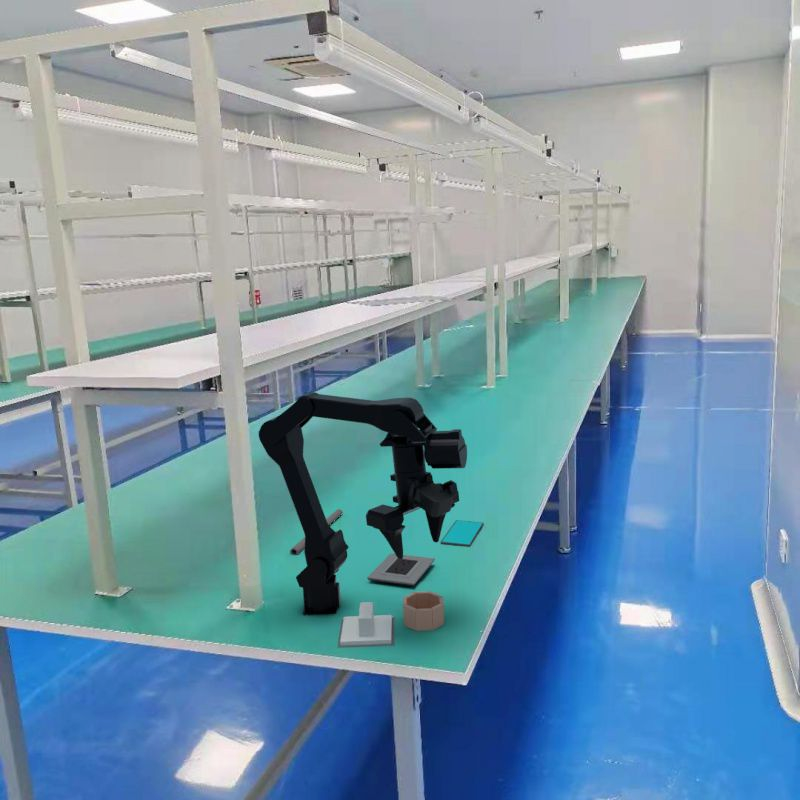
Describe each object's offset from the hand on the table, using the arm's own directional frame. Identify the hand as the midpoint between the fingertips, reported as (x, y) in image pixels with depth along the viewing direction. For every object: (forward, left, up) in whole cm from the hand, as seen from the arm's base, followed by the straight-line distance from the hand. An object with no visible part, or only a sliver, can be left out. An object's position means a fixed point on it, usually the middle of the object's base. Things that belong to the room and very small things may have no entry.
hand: (418, 549), depth 133 cm
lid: (-10, -4, -14) cm, 18 cm away
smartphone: (+11, +42, -15) cm, 46 cm away
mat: (-10, -4, -14) cm, 18 cm away
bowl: (0, -1, -14) cm, 14 cm away
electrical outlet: (-4, +20, -15) cm, 25 cm away
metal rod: (-25, +46, -15) cm, 54 cm away
